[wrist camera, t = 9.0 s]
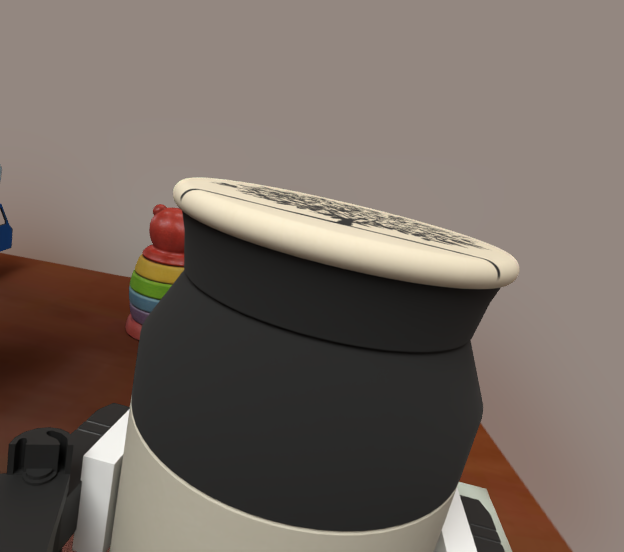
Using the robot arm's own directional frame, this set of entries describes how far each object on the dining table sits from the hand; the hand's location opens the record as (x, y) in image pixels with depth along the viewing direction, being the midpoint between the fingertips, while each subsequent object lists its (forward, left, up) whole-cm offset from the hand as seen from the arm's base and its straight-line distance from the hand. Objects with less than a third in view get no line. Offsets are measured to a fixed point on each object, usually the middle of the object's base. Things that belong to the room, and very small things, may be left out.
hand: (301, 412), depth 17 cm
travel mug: (0, -5, -10) cm, 11 cm away
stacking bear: (-22, +42, -18) cm, 51 cm away
